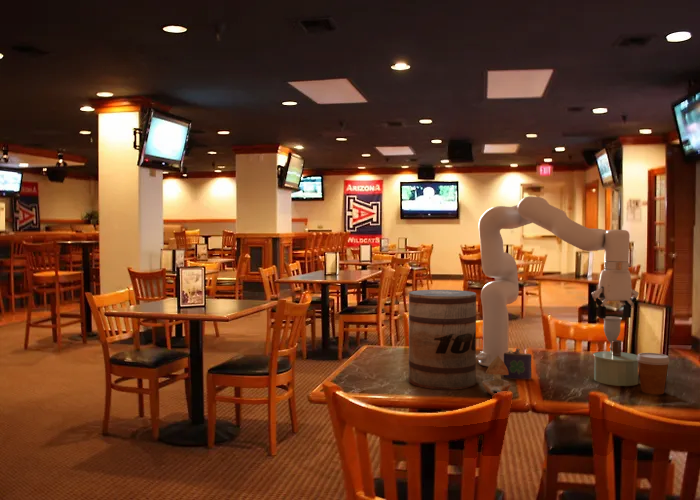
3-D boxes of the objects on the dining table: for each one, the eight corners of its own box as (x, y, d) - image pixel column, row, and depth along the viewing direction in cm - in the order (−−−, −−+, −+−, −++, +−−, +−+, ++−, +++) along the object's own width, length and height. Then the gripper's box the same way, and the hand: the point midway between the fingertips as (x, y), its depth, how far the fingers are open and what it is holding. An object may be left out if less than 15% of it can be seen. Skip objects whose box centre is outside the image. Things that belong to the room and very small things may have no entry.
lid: (611, 364, 205) (611, 345, 204) (584, 356, 219) (584, 338, 219) (650, 362, 208) (651, 343, 208) (621, 353, 223) (621, 336, 222)
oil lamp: (511, 386, 208) (511, 356, 208) (510, 404, 187) (510, 370, 187) (484, 385, 210) (484, 355, 210) (480, 402, 190) (480, 369, 189)
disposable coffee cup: (630, 389, 204) (630, 352, 204) (658, 389, 205) (659, 352, 205) (646, 397, 195) (646, 358, 194) (676, 397, 196) (676, 358, 195)
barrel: (471, 391, 202) (472, 297, 201) (402, 386, 209) (402, 295, 208) (479, 376, 223) (479, 290, 222) (416, 371, 230) (416, 288, 229)
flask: (531, 379, 218) (531, 348, 218) (531, 381, 216) (531, 349, 215) (503, 377, 221) (503, 347, 221) (503, 379, 218) (503, 348, 218)
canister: (611, 388, 206) (611, 362, 205) (586, 379, 219) (586, 354, 219) (647, 386, 209) (647, 360, 209) (620, 376, 222) (620, 352, 222)
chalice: (623, 367, 237) (623, 319, 236) (603, 366, 238) (604, 318, 238) (619, 363, 244) (619, 316, 243) (600, 362, 245) (600, 316, 245)
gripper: (631, 265, 219) (629, 315, 220) (586, 265, 215) (585, 316, 215) (646, 267, 212) (644, 318, 212) (600, 267, 207) (598, 319, 208)
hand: (614, 317), depth 214 cm, fingers open, 9 cm apart
